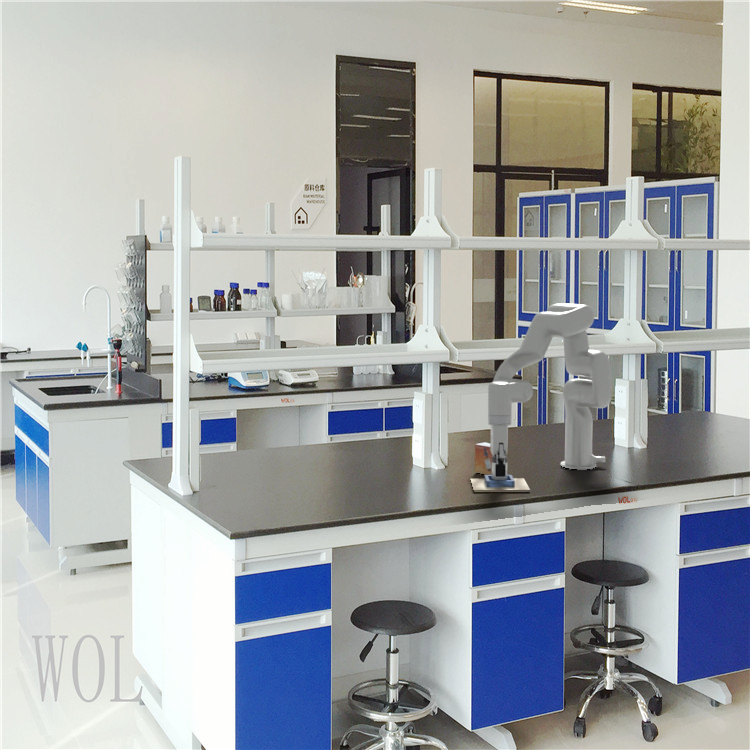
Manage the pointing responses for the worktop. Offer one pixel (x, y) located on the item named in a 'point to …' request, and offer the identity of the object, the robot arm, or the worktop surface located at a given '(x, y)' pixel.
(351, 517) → the worktop surface
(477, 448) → the small box
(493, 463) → the gray domed white cylinder
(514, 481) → the mount plate
